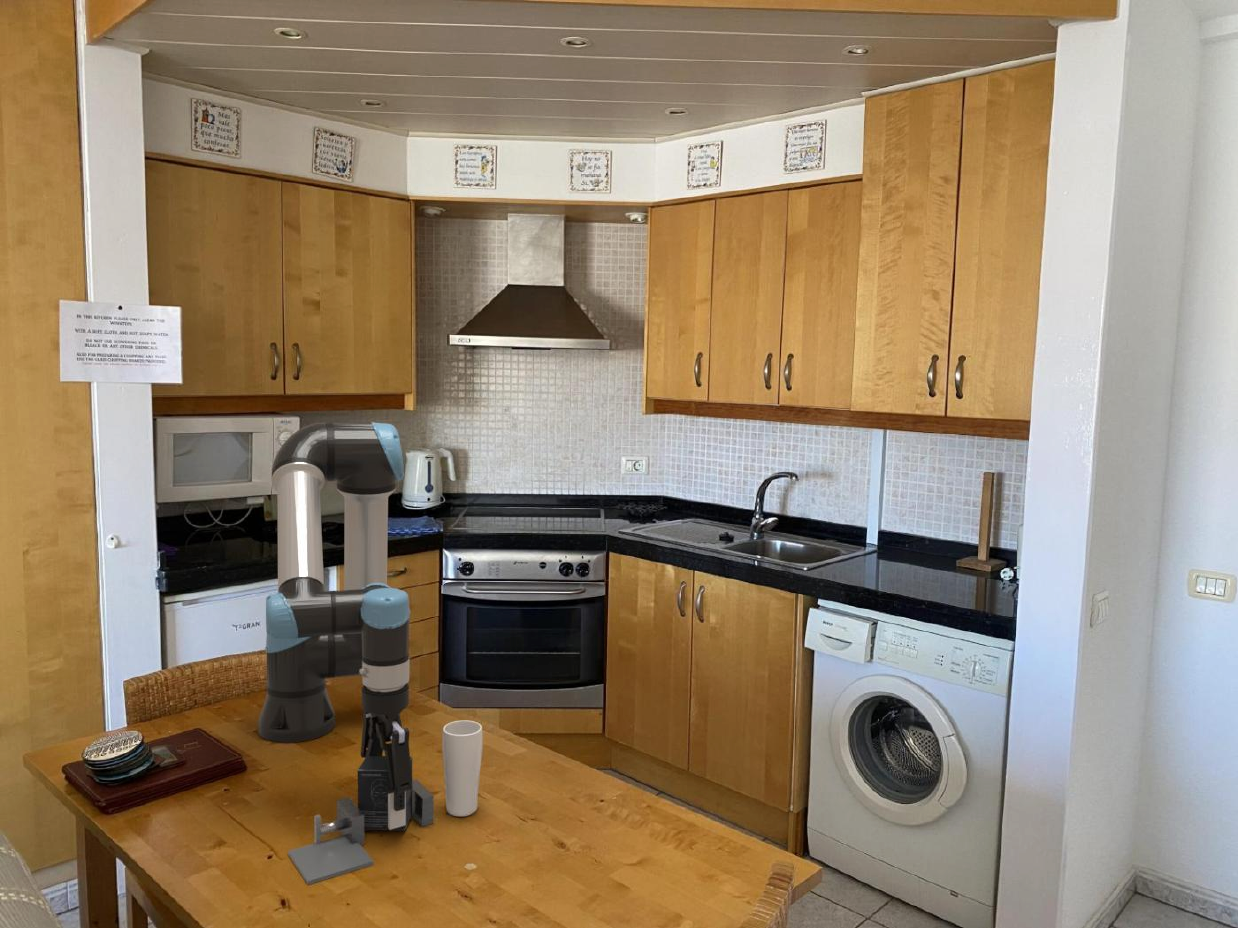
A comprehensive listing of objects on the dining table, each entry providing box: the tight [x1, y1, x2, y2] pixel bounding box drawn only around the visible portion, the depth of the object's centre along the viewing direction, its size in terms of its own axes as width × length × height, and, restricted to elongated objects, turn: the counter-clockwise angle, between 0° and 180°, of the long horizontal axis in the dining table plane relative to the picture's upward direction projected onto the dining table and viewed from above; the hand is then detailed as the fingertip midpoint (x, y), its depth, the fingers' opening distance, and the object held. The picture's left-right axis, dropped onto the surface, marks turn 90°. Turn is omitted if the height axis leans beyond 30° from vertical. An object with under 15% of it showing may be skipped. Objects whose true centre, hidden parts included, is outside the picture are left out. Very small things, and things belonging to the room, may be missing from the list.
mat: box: [287, 834, 374, 886], centre depth 143 cm, size 10×10×1 cm
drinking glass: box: [441, 719, 483, 817], centre depth 158 cm, size 7×7×15 cm
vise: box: [313, 778, 435, 846], centre depth 151 cm, size 7×19×5 cm, turn 126°
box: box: [357, 755, 413, 832], centre depth 153 cm, size 8×6×11 cm
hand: (385, 813), depth 153 cm, fingers closed on box, 9 cm apart
